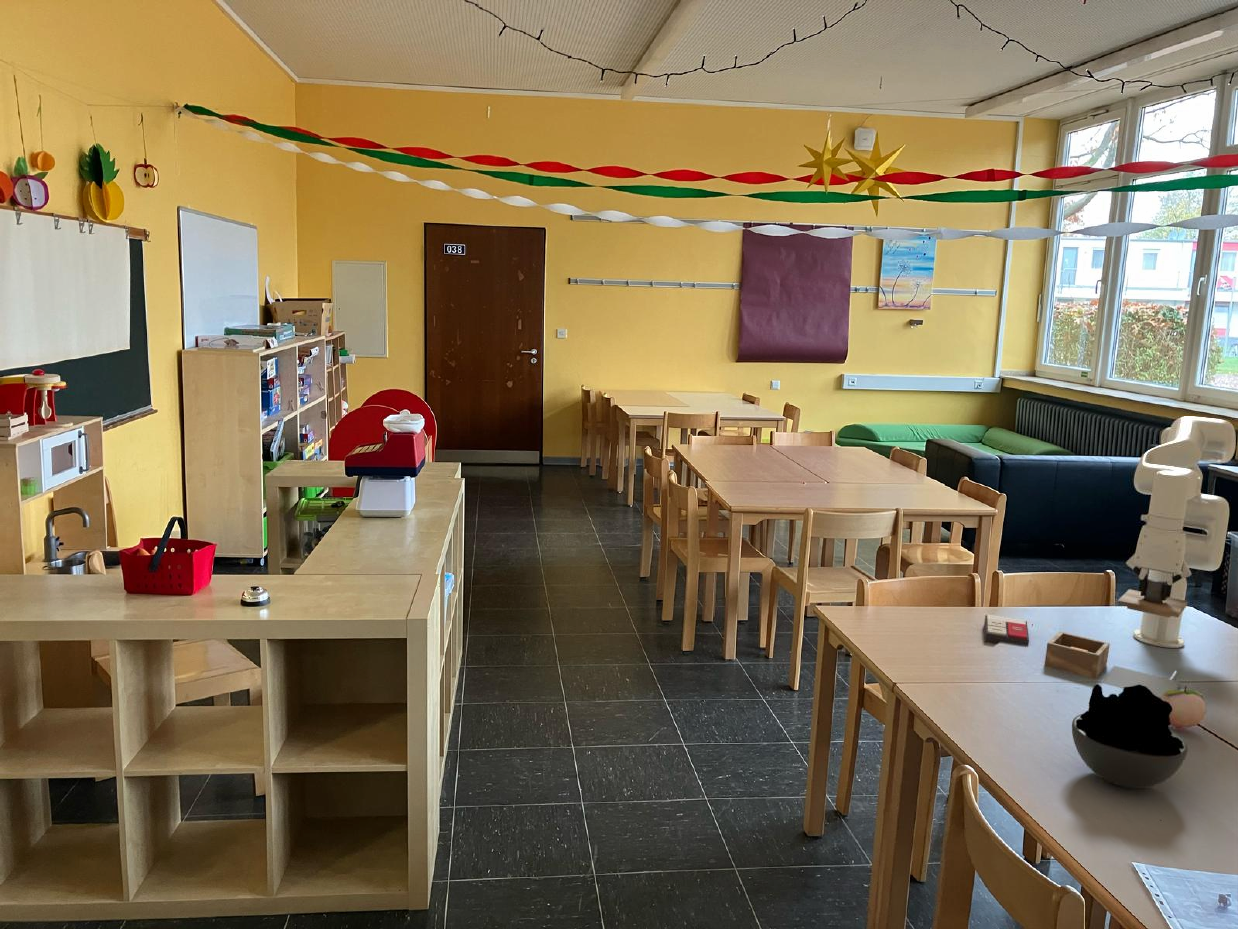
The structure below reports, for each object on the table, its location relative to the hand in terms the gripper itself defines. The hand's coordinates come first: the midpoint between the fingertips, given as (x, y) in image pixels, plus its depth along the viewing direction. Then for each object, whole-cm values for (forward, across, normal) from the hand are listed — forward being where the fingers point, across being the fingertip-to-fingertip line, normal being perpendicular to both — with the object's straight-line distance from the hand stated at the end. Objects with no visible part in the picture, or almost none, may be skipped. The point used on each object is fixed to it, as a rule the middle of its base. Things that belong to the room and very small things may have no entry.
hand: (1153, 596), depth 240 cm
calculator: (+23, -36, +12) cm, 45 cm away
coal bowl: (+23, +7, -58) cm, 63 cm away
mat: (+23, 0, 0) cm, 23 cm away
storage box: (+23, -15, 0) cm, 27 cm away
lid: (+3, 0, 0) cm, 3 cm away
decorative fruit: (+23, +12, -22) cm, 34 cm away
